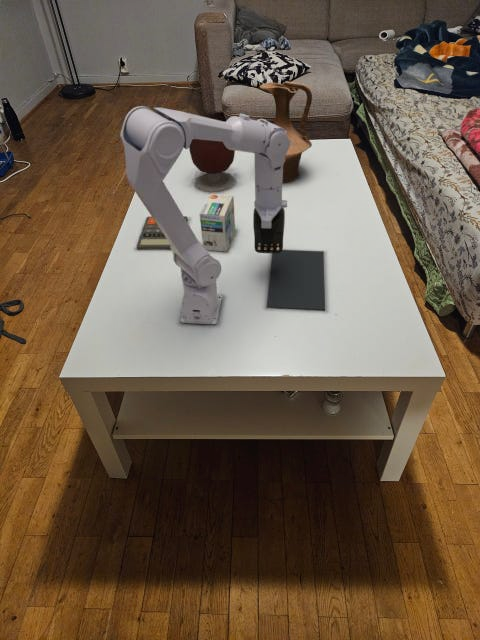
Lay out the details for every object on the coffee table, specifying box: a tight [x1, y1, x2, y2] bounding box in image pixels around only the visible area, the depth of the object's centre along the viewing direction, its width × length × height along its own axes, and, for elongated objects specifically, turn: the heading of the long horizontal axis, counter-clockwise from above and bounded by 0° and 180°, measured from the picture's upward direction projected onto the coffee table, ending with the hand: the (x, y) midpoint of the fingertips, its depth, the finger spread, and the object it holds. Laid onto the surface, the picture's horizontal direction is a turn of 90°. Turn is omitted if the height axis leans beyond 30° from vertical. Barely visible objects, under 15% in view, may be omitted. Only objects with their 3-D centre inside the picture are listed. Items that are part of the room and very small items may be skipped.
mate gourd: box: [188, 139, 236, 193], centre depth 139 cm, size 16×14×20 cm
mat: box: [266, 249, 326, 312], centre depth 110 cm, size 22×13×1 cm, turn 174°
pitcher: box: [259, 80, 313, 183], centre depth 138 cm, size 18×17×28 cm
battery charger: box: [252, 207, 286, 254], centre depth 102 cm, size 7×4×11 cm, turn 85°
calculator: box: [136, 215, 188, 250], centre depth 125 cm, size 12×1×15 cm
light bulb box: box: [199, 193, 236, 252], centre depth 119 cm, size 11×7×11 cm, turn 168°
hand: (268, 238), depth 104 cm, fingers closed on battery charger, 4 cm apart
